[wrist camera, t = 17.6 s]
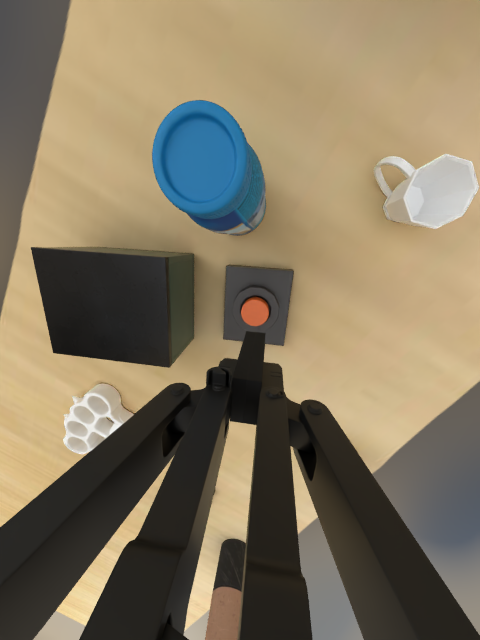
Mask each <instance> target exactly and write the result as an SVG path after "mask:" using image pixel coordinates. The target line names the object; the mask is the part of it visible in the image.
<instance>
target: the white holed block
mask: <svg viewBox="0 0 480 640" xmlns="http://www.w3.org/2000/svg"><path fill="white" fill-rule="evenodd" d="M72 397H73V401H74V405H73V406H72V407H70V414H63V415H64V416H65V421H64V427H65V429H66V436H65V437H64V438H63V441H64V443H65V445H66V446H67V447H68V448H69V449H70V450H71V451H73V452H75V453H78V454H85V453H87V452H89V451H91V450H93V449H94V448H95V447H96V446H97V445H99V444H100V443H101V442H102V441H103V440H105V439H106V438H107V437H108V436H109V435H110V434H112V433H113V432H114V431H115V430H116V429H118V428H119V427H120V426H121V425H122V424H123V423H125V422H126V421H127V420H128V419H129V418H131V417H132V416H133V415H134V414H133V413H131V412H129V411H128V410H126V409H125V408H123V406H122V404H121V397H120V394H119V392H118V391H117V390H116V389H115V388H114V387H113V386H111V385H109V384H104V383H102V384H98V385H96V386H94V387H93V388H92V389H91V390H89V391H88V392H87V393H86V394H85V396H83V397H82V398H80V397H76V396H72ZM106 417H109V418H111V419H112V421H113V422H114V423H113V422H111V421H110V420H108V419H107V418H106ZM101 436H102V437H101ZM103 437H104V438H103Z"/></svg>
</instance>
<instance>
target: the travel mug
mask: <svg viewBox="0 0 480 640" xmlns="http://www.w3.org/2000/svg"><path fill="white" fill-rule="evenodd" d="M245 549H246V544H245V543H244V542H242V541H240V540H236V539H228V540H226V541H224V542H223V543H222V546H221V551H220V556H219V562H218V567H217V572H216V578H215V583H214V588H213V594H212V600H211V606H210V612H209V618H208V625H207V631H206V637H205V640H237V636H238V626H239V615H240V604H241V593H242V582H243V571H244V560H245Z"/></svg>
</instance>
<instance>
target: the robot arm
mask: <svg viewBox="0 0 480 640" xmlns="http://www.w3.org/2000/svg"><path fill="white" fill-rule="evenodd" d="M265 335H266V333H261V332H251V331H246V334H245V337H244V340H243V344H242V347H241V351H240V354H239V357H238V360H237V359H228V358H225V359H223V360H222V361H220V364H219V366H218V367H213V368H211V369H209V370H208V371H207V379H206V387H205V388H204V389H201V390H192V391H191V389H190V387H189V385H187V384H184V383H174V384H171V385H169V386H167V387H166V388H165V389H164V390H163V391H161V392H160V393H159V394H158V395H157V396H155V397H154V398H153V399H152V400H151V401H149V402H148V403H147V404H146V405H145V406H144V407H142V408H141V409H140V410H139V411H138V412H136V413H135V414H134V415H133V416H132V417H131V418H129V419H128V420H127V421H126V422H125V423H123V424H122V425H121V426H120V427H119V428H118V429H116V430H115V431H114V432H113V433H112V434H110V435H109V436H108V437H107V438H106V439H105V440H103V441H102V442H101V443H100V444H99V445H97V446H96V447H95V448H94V449H93V450H91V451H90V452H89V453H88V454H87V455H86V456H84V457H83V458H82V459H81V460H80V461H78V462H77V463H76V464H75V465H74V466H73V467H71V468H70V469H69V470H68V471H67V472H65V473H64V474H63V475H62V476H61V477H60V478H58V479H57V480H56V481H55V482H54V483H52V484H51V485H50V486H49V487H48V488H47V489H45V490H44V491H43V492H42V493H41V494H39V495H38V496H37V497H36V498H35V499H33V500H32V501H31V502H30V503H29V504H28V505H26V506H25V507H24V508H23V509H22V510H20V511H19V512H18V513H17V514H16V515H15V516H13V517H12V518H11V519H10V520H9V521H7V522H6V523H5V524H4V525H3V526H2V527H0V640H33V639H34V637H35V636H36V635H37V634H38V632H39V631H40V630H41V629H42V628H43V626H44V625H45V624H46V622H47V621H48V620H49V618H50V617H51V616H52V615H53V613H54V612H55V611H56V609H57V608H58V607H59V605H60V604H61V603H62V601H63V600H64V599H65V597H66V596H67V595H68V594H69V592H70V591H71V590H72V588H73V587H74V586H75V584H76V583H77V582H78V580H79V579H80V578H81V577H82V575H83V574H84V573H85V571H86V570H87V569H88V567H89V566H90V565H91V563H92V562H93V561H94V559H95V558H96V557H97V556H98V554H99V553H100V552H101V550H102V549H103V548H104V546H105V545H106V544H107V542H108V541H109V540H110V539H111V537H112V536H113V535H114V533H115V532H116V531H117V529H118V528H119V527H120V525H121V524H122V523H123V521H124V520H125V519H126V518H127V516H128V515H129V514H130V512H131V511H132V510H133V508H134V507H135V506H136V504H137V503H138V502H139V501H140V499H141V498H142V497H143V495H144V494H145V493H146V491H147V490H148V489H149V487H150V486H151V485H152V483H153V482H154V481H155V480H156V478H157V477H158V476H159V474H160V473H161V472H162V470H163V469H164V468H165V466H166V465H167V464H168V463H169V461H170V460H171V459H172V457H173V456H174V455H175V456H174V458H173V460H172V462H171V464H170V467H169V469H168V471H167V473H166V475H165V478H164V480H163V482H162V484H161V486H160V489H159V491H158V493H157V495H156V497H155V500H154V502H153V504H152V506H151V508H150V511H149V513H148V515H147V517H146V519H145V522H144V524H143V526H142V528H141V530H140V532H139V534H138V536H137V537H136V539H135V540H132V541H130V542H129V543H128V544H127V545H126V546H125V548H124V549H123V551H122V553H121V555H120V557H119V559H118V561H117V563H116V565H115V567H114V569H113V571H112V573H111V575H110V577H109V579H108V581H107V583H106V585H105V588H104V590H103V592H102V594H101V596H100V598H99V600H98V602H97V604H96V606H95V608H94V610H93V612H92V614H91V616H90V619H89V621H88V623H87V625H86V627H85V629H84V631H83V633H82V635H81V637H80V639H79V640H189V639H187V638H186V637H185V636H183V634H184V628H185V622H186V615H187V608H188V603H189V598H190V594H191V590H192V585H193V581H194V577H195V572H196V568H197V564H198V559H199V555H200V551H201V546H202V542H203V538H204V533H205V529H206V525H207V520H208V516H209V512H210V507H211V503H212V499H213V494H214V490H215V486H216V481H217V477H218V472H219V468H220V464H221V459H222V455H223V451H224V446H225V442H226V438H227V433H228V429H229V419H230V421H233V422H240V423H247V424H254V425H257V427H256V437H255V449H254V460H253V471H252V482H251V493H250V504H249V515H248V526H247V538H246V549H245V560H244V571H243V582H242V593H241V604H240V615H239V626H238V636H237V640H312V631H311V620H310V610H309V600H308V594H307V593H308V592H307V586H306V582H305V578H304V577H303V575H302V573H301V567H300V557H299V544H298V532H297V520H296V508H295V496H294V484H293V473H292V461H291V449H290V446H292V447H293V450H294V453H295V456H296V459H297V461H298V464H299V467H300V469H301V472H302V475H303V477H304V480H305V483H306V485H307V488H308V491H309V494H310V496H311V499H312V502H313V504H314V507H315V510H316V512H317V515H318V518H319V520H320V523H321V525H322V528H323V531H324V534H325V536H326V539H327V542H328V544H329V547H330V550H331V552H332V555H333V558H334V560H335V563H336V566H337V569H338V571H339V574H340V577H341V579H342V582H343V585H344V587H345V590H346V592H347V595H348V598H349V601H350V603H351V606H352V609H353V611H354V614H355V617H356V619H357V622H358V625H359V627H360V630H361V633H362V636H363V638H364V640H480V635H479V634H478V632H477V631H476V630H475V628H474V626H473V625H472V623H471V622H470V620H469V619H468V618H467V616H466V614H465V613H464V612H463V610H462V608H461V607H460V606H459V604H458V603H457V601H456V599H455V598H454V597H453V595H452V593H451V592H450V590H449V589H448V587H447V586H446V585H445V583H444V581H443V580H442V579H441V577H440V576H439V574H438V572H437V571H436V570H435V568H434V567H433V565H432V564H431V562H430V561H429V559H428V558H427V556H426V555H425V553H424V552H423V550H422V549H421V547H420V546H419V544H418V543H417V541H416V540H415V538H414V537H413V535H412V534H411V532H410V531H409V529H408V528H407V526H406V525H405V523H404V522H403V520H402V519H401V517H400V516H399V514H398V513H397V511H396V510H395V508H394V507H393V505H392V504H391V502H390V501H389V499H388V498H387V496H386V495H385V493H384V492H383V490H382V489H381V487H380V486H379V484H378V483H377V481H376V480H375V478H374V477H373V475H372V474H371V472H370V471H369V469H368V468H367V466H366V465H365V463H364V462H363V460H362V459H361V457H360V456H359V454H358V453H357V451H356V450H355V448H354V447H353V445H352V444H351V442H350V441H349V439H348V438H347V436H346V435H345V433H344V432H343V430H342V429H341V427H340V426H339V424H338V423H337V421H336V420H335V418H334V417H333V415H332V414H331V412H330V411H329V409H328V408H327V407H326V406H325V405H324V404H322V403H321V402H319V401H316V400H305V401H303V402H302V403H301V405H300V404H298V403H295V402H293V401H291V400H289V399H288V398H287V397H286V394H285V392H284V388H283V375H282V368H281V366H280V365H279V364H275V363H266V362H264V349H265Z"/></svg>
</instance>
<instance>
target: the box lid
mask: <svg viewBox="0 0 480 640" xmlns="http://www.w3.org/2000/svg"><path fill="white" fill-rule="evenodd" d="M31 250H32V255H33V260H34V264H35V269H36V274H37V279H38V283H39V288H40V293H41V297H42V302H43V307H44V311H45V316H46V321H47V326H48V330H49V335H50V340H51V344H52V349H53V353H57V354H65V355H73V356H81V357H89V358H97V359H105V360H113V361H121V362H129V363H137V364H145V365H153V366H161V367H170V366H171V365H172V350H171V321H170V292H169V263H168V257H162V256H149V255H135V254H122V253H109V252H95V251H82V250H68V249H55V248H41V247H31Z"/></svg>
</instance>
